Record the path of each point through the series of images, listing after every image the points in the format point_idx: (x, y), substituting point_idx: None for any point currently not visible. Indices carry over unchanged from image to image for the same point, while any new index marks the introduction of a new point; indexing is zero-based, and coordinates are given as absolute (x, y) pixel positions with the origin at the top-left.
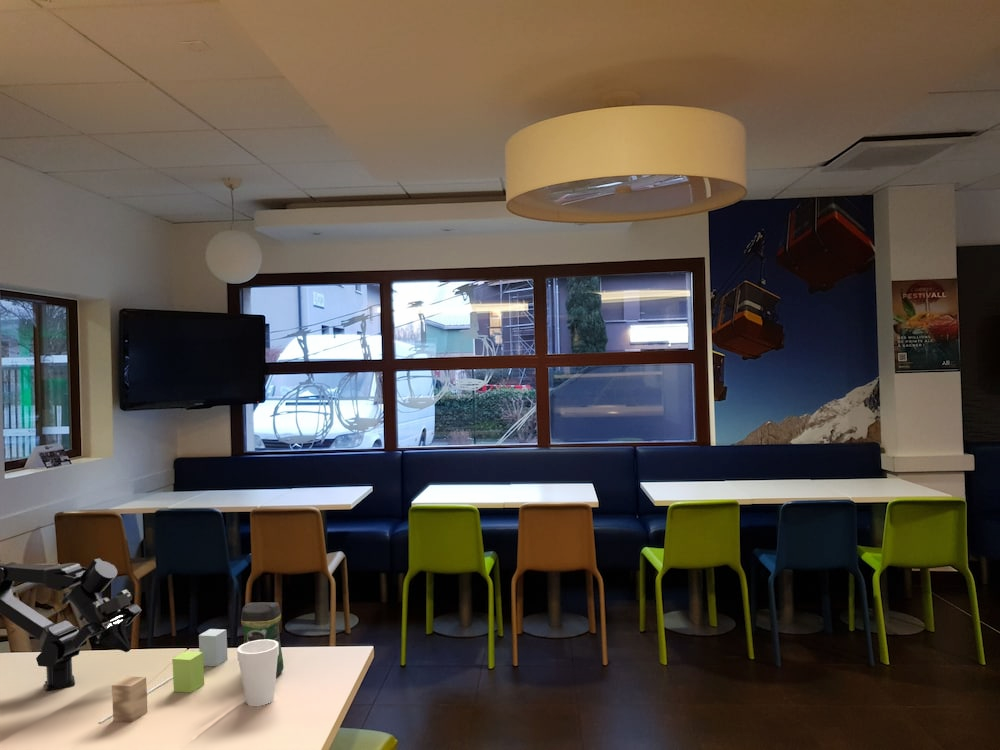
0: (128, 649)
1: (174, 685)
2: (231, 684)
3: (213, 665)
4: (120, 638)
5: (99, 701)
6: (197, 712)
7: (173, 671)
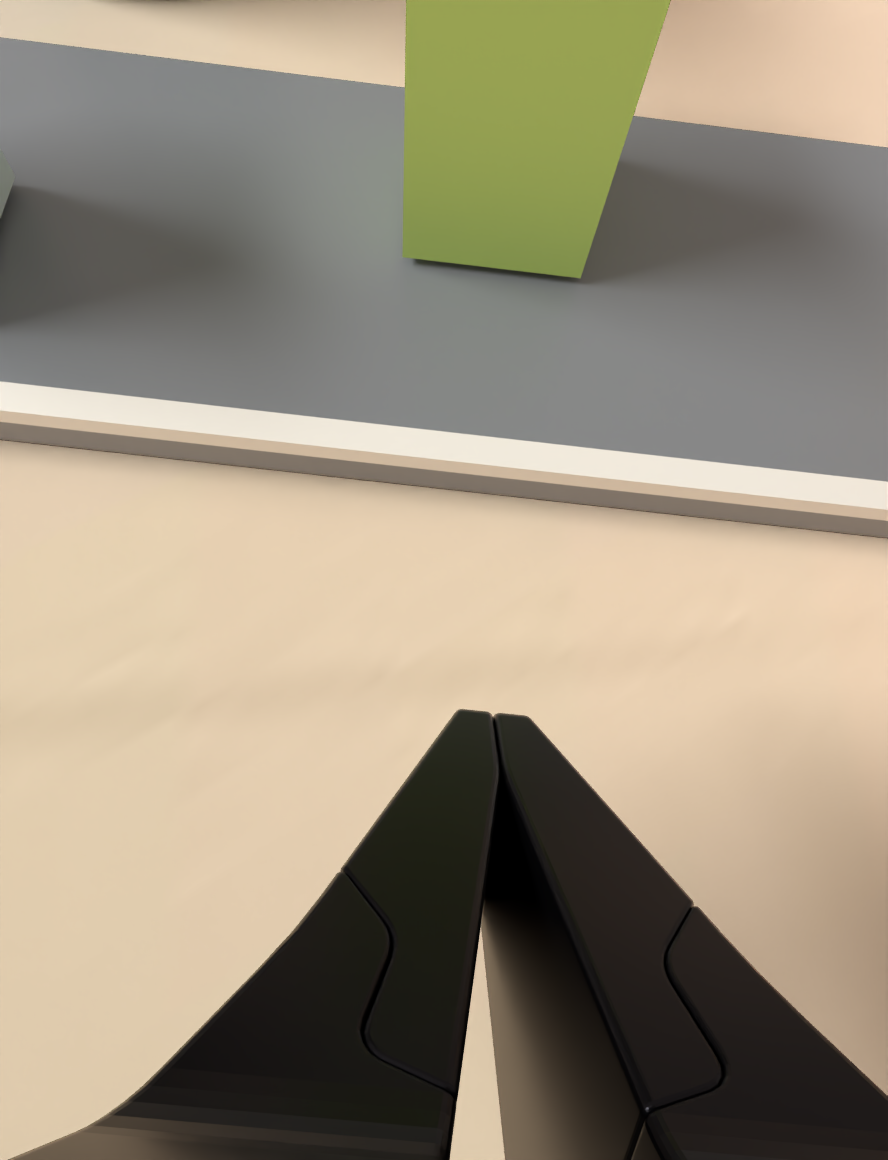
0: (532, 721)
1: (593, 230)
2: (320, 32)
3: (2, 197)
4: (652, 913)
5: (756, 958)
6: (777, 65)
7: (630, 119)
